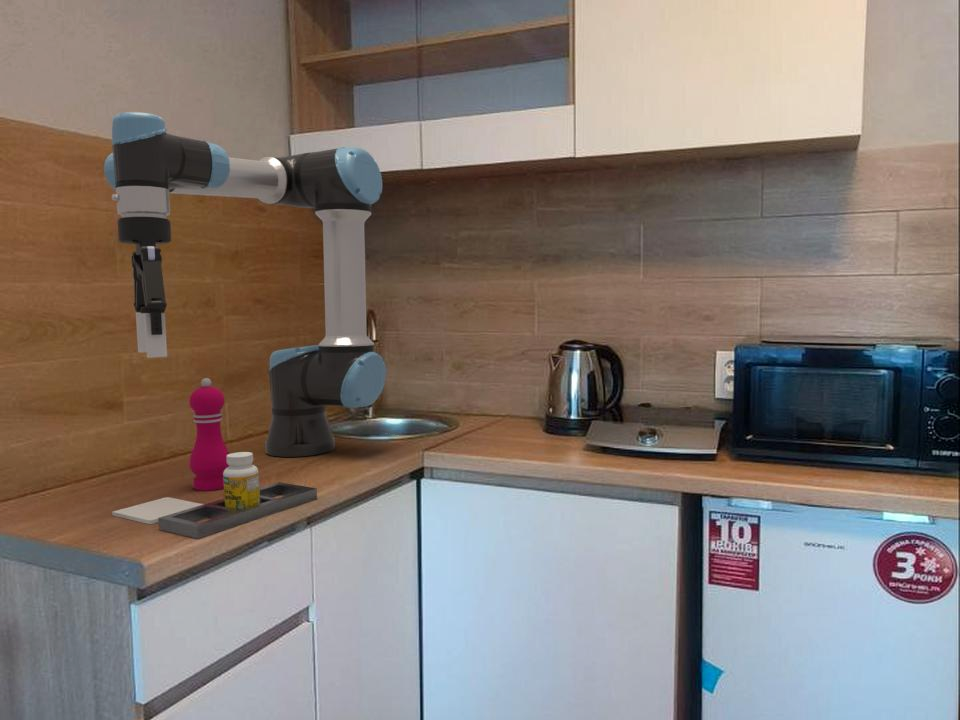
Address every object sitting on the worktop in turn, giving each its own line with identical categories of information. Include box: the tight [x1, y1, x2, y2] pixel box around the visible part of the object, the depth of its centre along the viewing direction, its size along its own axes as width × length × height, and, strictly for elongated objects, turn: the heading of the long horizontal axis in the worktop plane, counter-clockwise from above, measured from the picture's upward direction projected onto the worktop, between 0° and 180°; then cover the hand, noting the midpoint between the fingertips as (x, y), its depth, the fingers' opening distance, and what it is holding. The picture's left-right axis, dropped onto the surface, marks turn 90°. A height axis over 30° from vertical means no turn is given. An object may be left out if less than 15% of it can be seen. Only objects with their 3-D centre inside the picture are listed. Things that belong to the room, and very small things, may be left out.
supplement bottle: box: [223, 451, 260, 510], centre depth 122 cm, size 5×5×10 cm
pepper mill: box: [188, 377, 231, 492], centre depth 139 cm, size 7×7×20 cm
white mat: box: [111, 496, 204, 525], centre depth 124 cm, size 10×10×1 cm
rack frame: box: [157, 481, 318, 540], centre depth 122 cm, size 24×9×2 cm, turn 148°
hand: (152, 354), depth 120 cm, fingers open, 13 cm apart
